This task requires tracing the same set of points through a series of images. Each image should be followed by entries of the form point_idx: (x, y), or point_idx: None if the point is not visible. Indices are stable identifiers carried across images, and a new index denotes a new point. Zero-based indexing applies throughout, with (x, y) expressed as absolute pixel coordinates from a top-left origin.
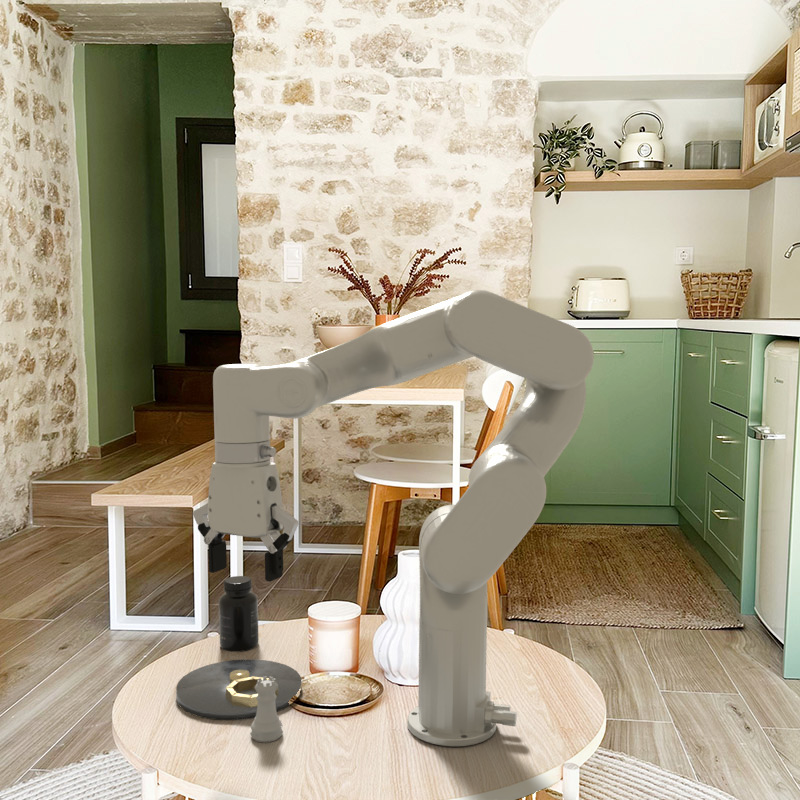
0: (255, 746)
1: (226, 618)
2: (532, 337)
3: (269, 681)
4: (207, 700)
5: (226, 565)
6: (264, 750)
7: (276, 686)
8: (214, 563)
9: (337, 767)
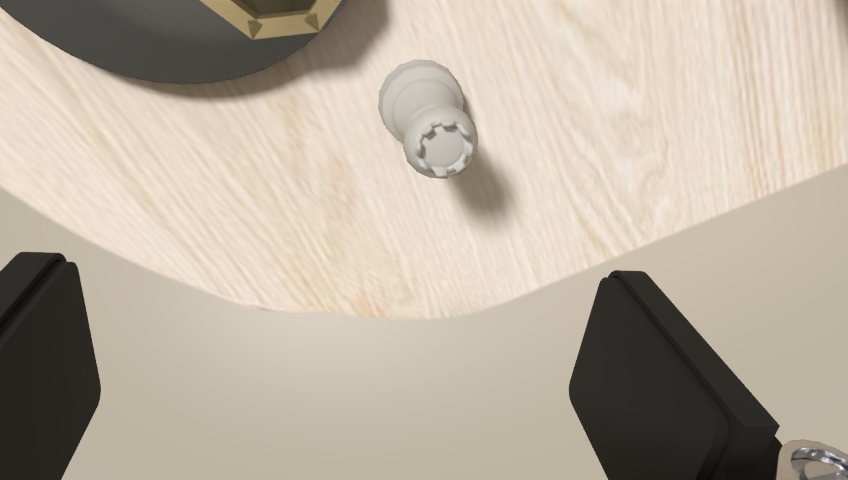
0: None
1: None
2: None
3: (449, 138)
4: (161, 35)
5: (68, 268)
6: None
7: (475, 138)
8: (71, 438)
9: (629, 161)
